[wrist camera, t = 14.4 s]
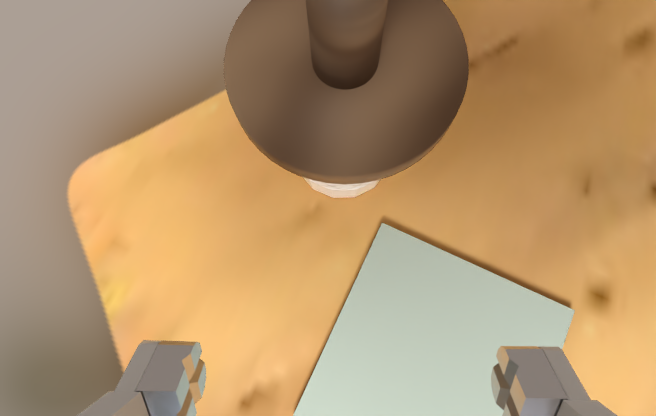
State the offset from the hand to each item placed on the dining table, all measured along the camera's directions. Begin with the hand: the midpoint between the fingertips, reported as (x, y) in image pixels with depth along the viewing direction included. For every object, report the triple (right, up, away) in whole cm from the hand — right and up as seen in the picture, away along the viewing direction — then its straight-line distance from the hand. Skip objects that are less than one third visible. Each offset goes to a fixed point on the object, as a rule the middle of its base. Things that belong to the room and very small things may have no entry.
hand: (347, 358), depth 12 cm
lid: (0, +11, +9) cm, 14 cm away
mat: (+6, -5, +15) cm, 17 cm away
